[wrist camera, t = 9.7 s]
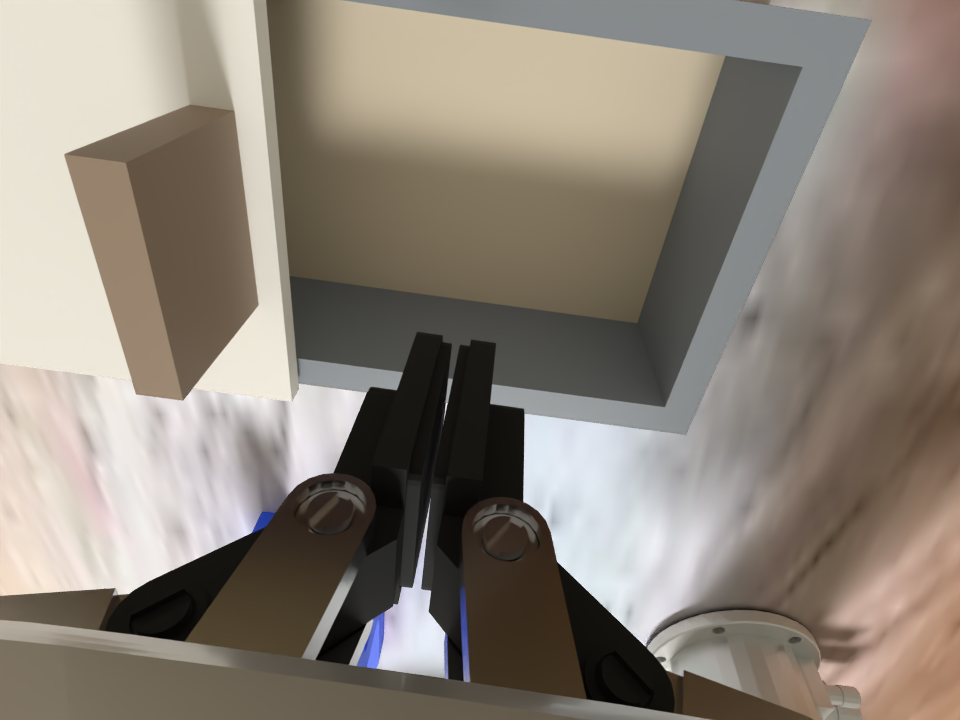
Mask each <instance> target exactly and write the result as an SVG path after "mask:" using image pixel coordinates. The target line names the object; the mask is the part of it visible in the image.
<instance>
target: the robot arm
mask: <svg viewBox="0 0 960 720" xmlns="http://www.w3.org/2000/svg"><path fill="white" fill-rule="evenodd" d="M451 350H452V343H446V342H443V335H438V334H431V333H424V332H417V333H416V336H415V339H414V342H413V344H412V347H411V350H410V353H409V356H408V359H407V362H406V365H405V368H404V371H403V374H402V377H401V380H400V383H399V385H398V388H397V390H392V389H385V388H378V387H370V388H369V390H368V392H367V394H366V396H365V399H364V401H363V404H362V406H361V408H360V411H359V413H358V416H357V418H356V420H355V423H354V425H353V428H352V430H351V432H350V435H349V437H348V440H347V442H346V445H345V447H344V449H343V452H342V454H341V457H340V459H339V461H338V464H337V466H336V469H335V471H334V473H331V474H322V475H318V476H315V477H312V478H309V479H307V480H306V481H304V482H302V483H301V484H299V485H297V486H296V487H295V488H294V489H293V491H292V492H291V493H290V494H289V495H288V496H287V498H286V499H285V500H284V502H283V503H282V505H281V506H280V507H279V509H278V510H277V512H276V513H275V515H274V516H273V517H272V519H271V520H270V522H269V523H268V524H267V526H266V527H264V528H262V529H260V530H258V531H255V532H253V533H251V534H249V535H247V536H245V537H243V538H240V539H238V540H236V541H234V542H232V543H230V544H228V545H226V546H223V547H221V548H219V549H217V550H215V551H213V552H211V553H209V554H206V555H204V556H202V557H200V558H198V559H196V560H194V561H191V562H189V563H187V564H185V565H183V566H181V567H179V568H177V569H174V570H172V571H170V572H168V573H166V574H164V575H162V576H160V577H157V578H155V579H153V580H151V581H149V582H147V583H146V584H144V585H142V586H141V587H139V588H137V589H135V590H134V591H132V592H131V593H130V594H125V595H118V593H117V591H116V588H111V589H97V590H82V591H67V592H53V593H38V594H23V595H9V596H0V720H862V715H861V711H860V709H859V708H860V706H861V697H860V693H859V692H858V690H857V689H856V688H854V687H850V686H842V685H827V684H826V683H825V682H824V681H823V680H821V677H820V675H819V672H818V669H819V666H820V662H821V655H820V650H819V648H818V646H817V644H816V641H815V639H814V637H813V635H812V634H811V633H810V632H809V631H808V630H807V629H806V628H805V627H804V626H802V625H801V624H799V623H798V622H796V621H793V620H791V619H789V618H786V617H784V616H781V615H777V614H773V613H769V612H763V611H755V610H727V611H716V612H711V613H706V614H701V615H697V616H694V617H691V618H687V619H684V620H682V621H680V622H678V623H675V624H673V625H671V626H670V627H668V628H666V629H665V630H663V631H662V632H660V633H659V634H658V635H657V636H656V637H655V638H654V639H653V640H652V641H651V642H650V644H649V646H648V647H647V648H646V647H645V646H644V645H643V644H642V643H641V642H640V641H639V640H638V639H637V638H636V637H635V636H634V635H633V634H631V633H630V632H629V631H628V630H627V629H626V628H625V627H624V626H623V625H622V624H621V623H620V622H619V621H618V620H617V619H616V618H615V617H614V616H613V615H612V614H611V613H610V612H609V611H608V610H607V609H606V608H604V607H603V606H602V605H601V604H600V603H599V602H598V601H597V600H596V599H595V598H594V597H593V596H592V595H591V594H590V593H589V592H588V591H587V590H586V589H585V588H584V587H583V586H582V585H581V584H580V583H578V582H577V581H576V580H575V579H574V578H573V577H572V576H571V575H570V574H569V573H568V572H567V571H566V570H565V569H564V568H563V567H562V566H561V565H560V564H559V563H558V562H557V560H556V555H555V550H554V546H553V541H552V537H551V532H550V530H549V527H548V525H547V522H546V520H545V519H544V518H543V517H542V516H541V514H540V513H539V512H538V511H537V510H535V509H534V508H533V507H531V506H530V505H528V504H527V503H524V502H523V478H524V409H523V408H517V407H510V406H503V405H496V404H490V401H491V391H492V381H493V371H494V361H495V351H496V343H493V342H486V341H479V340H472V339H471V342H470V346H466V345H460V346H459V351H458V356H457V361H456V366H455V371H454V376H453V380H452V385H451V390H450V395H449V400H448V405H447V410H446V415H445V419H444V413H445V404H446V395H447V386H448V377H449V368H450V359H451ZM443 422H444V424H443ZM430 498H431V501H430ZM429 503H430V511H429V520H428V530H427V539H426V549H425V558H424V568H423V578H422V587H421V589H423V590H430V591H431V598H430V606H429V613H430V614H431V615H432V616H433V618H434V619H435V620H436V621H437V623H438V624H439V625H440V626H441V628H442V629H443V630H444V632H445V633H446V634H445V641H444V660H445V679H444V678H437V677H430V676H423V675H416V674H409V673H402V672H395V671H388V670H381V669H375V668H368V667H360V666H356V665H357V663H358V661H359V658H360V656H361V654H362V651H363V649H364V646H365V644H366V642H367V639H368V637H369V634H370V632H371V628H372V624H373V619H374V618H376V617H377V616H379V615H380V614H382V613H383V612H385V611H386V610H388V609H390V608H391V607H393V604H398V601H399V597H400V592H401V587H409V588H412V587H413V583H414V578H415V573H416V568H417V563H418V558H419V553H420V548H421V543H422V538H423V533H424V528H425V523H426V518H427V513H428V508H429Z"/></svg>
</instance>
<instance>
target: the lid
mask: <svg viewBox="0 0 960 720" xmlns="http://www.w3.org/2000/svg"><path fill="white" fill-rule="evenodd" d="M0 363H2V364H10V365H17V366H25V367H32V368H40V369H48V370H55V371H63V372H70V373H78V374H86V375H93V376H101V377H108V378H116V379H123V380H131V381H132V382H133V386H134V389H135V392H136V394H138V395H145V396H153V397H160V398H168V399H176V400H184V399H185V397H186V396H187V395H188V394H189V392H190V391H191V390H192V389H199V390H207V391H214V392H222V393H230V394H237V395H245V396H252V397H260V398H267V399H275V400H283V401H290V402H292V401H293V399H294V397H295V395H296V393H297V391H298V389H299V383H298V371H297V360H296V348H295V336H294V324H293V313H292V301H291V289H290V277H289V266H288V254H287V242H286V230H285V219H284V207H283V195H282V184H281V172H280V160H279V148H278V137H277V125H276V113H275V101H274V90H273V78H272V66H271V55H270V43H269V31H268V19H267V8H266V0H0Z"/></svg>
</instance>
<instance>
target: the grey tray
mask: <svg viewBox="0 0 960 720" xmlns="http://www.w3.org/2000/svg"><path fill="white" fill-rule="evenodd" d="M266 8H267V19H268V31H269V43H270V55H271V66H272V78H273V90H274V101H275V113H276V125H277V137H278V148H279V160H280V172H281V184H282V195H283V207H284V219H285V230H286V242H287V254H288V266H289V277H290V289H291V301H292V313H293V324H294V336H295V348H296V360H297V371H298V383H299V384H307V385H314V386H322V387H329V388H337V389H344V390H352V391H359V392H368V390H369V388H370V387H378V388H385V389H392V390H397V388H398V385H399V383H400V380H401V377H402V374H403V371H404V368H405V365H406V362H407V359H408V356H409V353H410V350H411V347H412V344H413V342H414V339H415V336H416V333H417V332H424V333H431V334H438V335H443V342H446V343H452V350H451V359H450V368H449V377H448V386H447V395H446V403H448V400H449V395H450V390H451V385H452V380H453V376H454V371H455V366H456V361H457V356H458V351H459V346H460V345H466V346H470V342H471V339H472V340H479V341H486V342H493V343H496V351H495V361H494V371H493V381H492V391H491V401H490V404H496V405H503V406H510V407H517V408H523V409H524V413H525V414H533V415H541V416H548V417H556V418H563V419H571V420H578V421H586V422H593V423H601V424H609V425H616V426H624V427H631V428H639V429H646V430H654V431H661V432H669V433H676V434H684V435H686V433H687V431H688V429H689V426H690V424H691V422H692V420H693V418H694V415H695V413H696V411H697V409H698V406H699V404H700V402H701V400H702V397H703V395H704V393H705V391H706V389H707V386H708V384H709V382H710V380H711V377H712V375H713V373H714V371H715V369H716V366H717V364H718V362H719V360H720V357H721V355H722V353H723V351H724V348H725V346H726V344H727V342H728V340H729V337H730V335H731V333H732V331H733V328H734V326H735V324H736V322H737V319H738V317H739V315H740V313H741V311H742V308H743V306H744V304H745V302H746V299H747V297H748V295H749V293H750V291H751V288H752V286H753V284H754V282H755V279H756V277H757V275H758V273H759V270H760V268H761V266H762V264H763V262H764V259H765V257H766V255H767V253H768V250H769V248H770V246H771V244H772V242H773V239H774V237H775V235H776V233H777V230H778V228H779V226H780V224H781V221H782V219H783V217H784V215H785V213H786V210H787V208H788V206H789V204H790V201H791V199H792V197H793V195H794V193H795V190H796V188H797V186H798V184H799V181H800V179H801V177H802V175H803V172H804V170H805V168H806V166H807V164H808V161H809V159H810V157H811V155H812V152H813V150H814V148H815V146H816V143H817V141H818V139H819V137H820V135H821V132H822V130H823V128H824V126H825V123H826V121H827V119H828V117H829V115H830V112H831V110H832V108H833V106H834V103H835V101H836V99H837V97H838V94H839V92H840V90H841V88H842V86H843V83H844V81H845V79H846V77H847V74H848V72H849V70H850V68H851V66H852V63H853V61H854V59H855V57H856V54H857V52H858V50H859V48H860V45H861V43H862V41H863V39H864V37H865V34H866V32H867V30H868V28H869V25H870V23H871V21H872V20H868V19H861V18H854V17H847V16H840V15H833V14H827V13H820V12H813V11H806V10H799V9H793V8H786V7H779V6H772V5H765V4H758V3H752V2H745V1H738V0H266Z"/></svg>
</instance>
